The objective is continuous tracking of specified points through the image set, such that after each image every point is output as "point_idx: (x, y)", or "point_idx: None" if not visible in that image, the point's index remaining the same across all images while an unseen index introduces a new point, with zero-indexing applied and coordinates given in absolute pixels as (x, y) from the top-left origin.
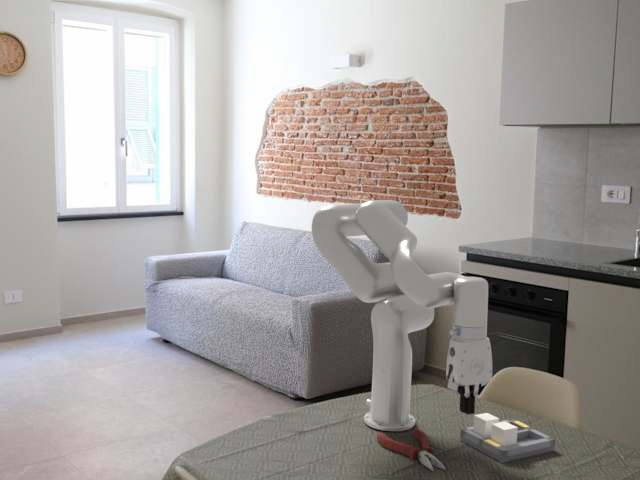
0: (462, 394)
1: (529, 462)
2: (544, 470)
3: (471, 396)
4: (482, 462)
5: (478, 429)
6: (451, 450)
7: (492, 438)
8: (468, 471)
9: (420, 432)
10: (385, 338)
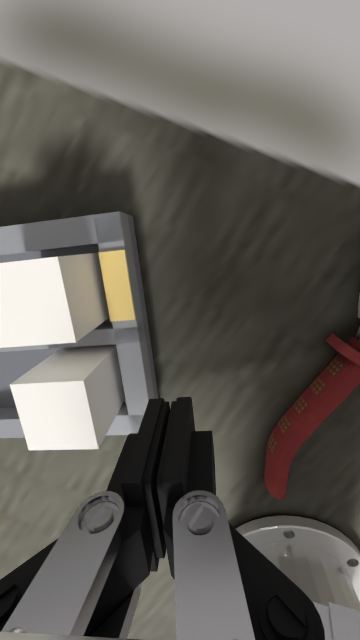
0: (241, 537)
1: (38, 188)
2: (21, 107)
3: (143, 499)
4: (195, 242)
5: (110, 391)
6: (235, 357)
7: (99, 314)
8: (292, 191)
9: (288, 470)
10: None
